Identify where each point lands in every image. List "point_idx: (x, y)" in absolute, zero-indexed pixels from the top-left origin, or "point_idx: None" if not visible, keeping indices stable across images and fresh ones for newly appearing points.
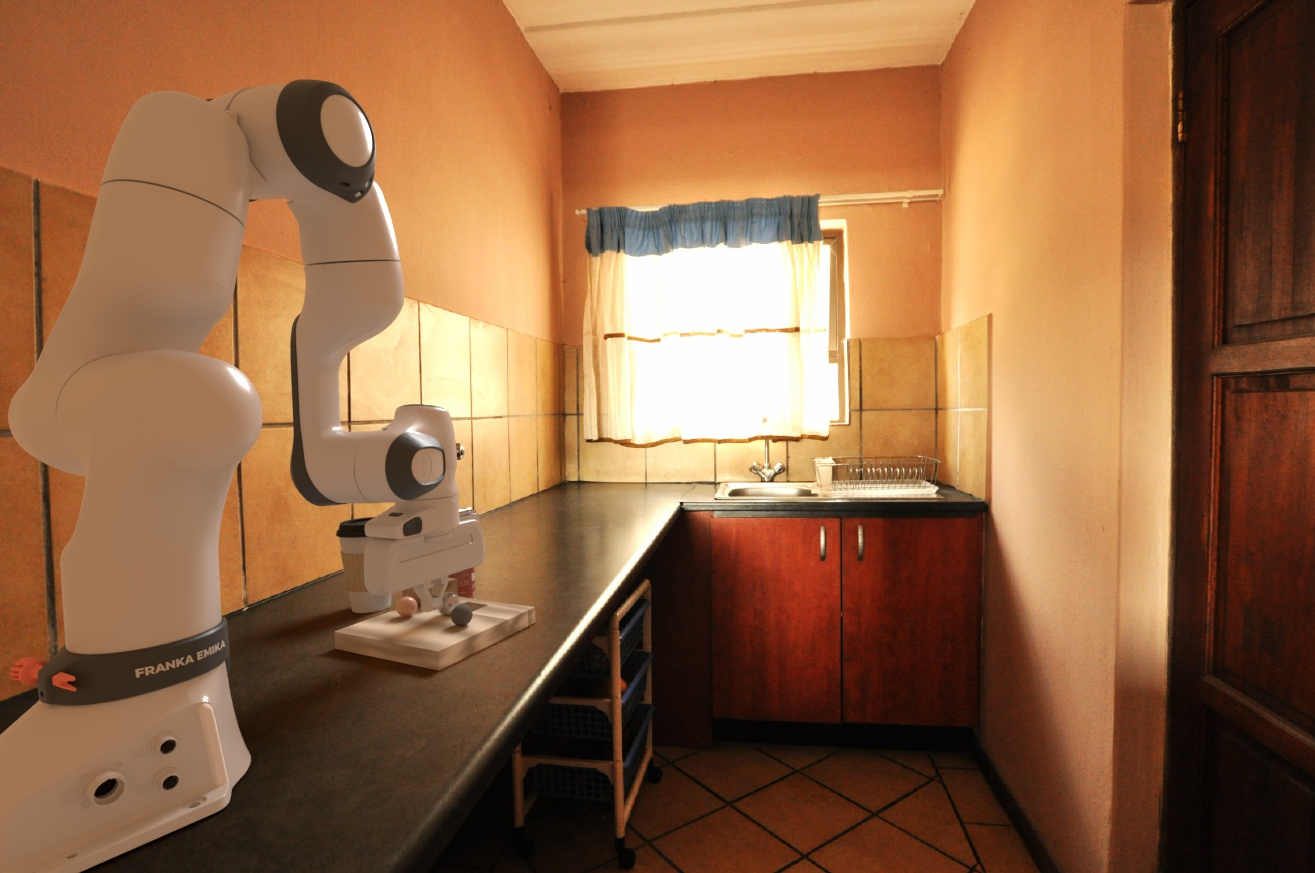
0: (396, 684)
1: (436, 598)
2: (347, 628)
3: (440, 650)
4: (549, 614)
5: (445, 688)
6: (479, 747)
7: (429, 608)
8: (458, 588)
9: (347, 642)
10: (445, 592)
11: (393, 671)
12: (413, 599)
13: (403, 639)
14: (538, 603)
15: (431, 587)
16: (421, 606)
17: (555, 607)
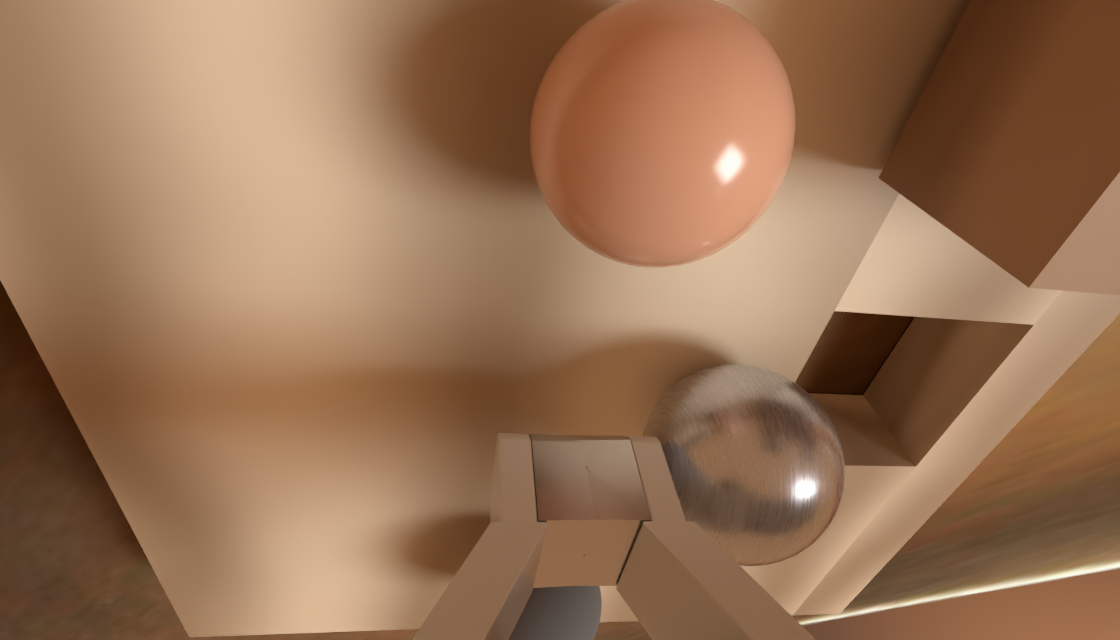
0: (4, 517)
1: (576, 579)
2: None
3: (203, 636)
4: (916, 533)
5: (137, 626)
6: None
7: (491, 514)
8: None
9: None
10: (773, 536)
11: (68, 430)
12: (696, 259)
13: (175, 449)
14: (1112, 441)
15: (1069, 285)
16: (498, 459)
17: (1015, 513)
